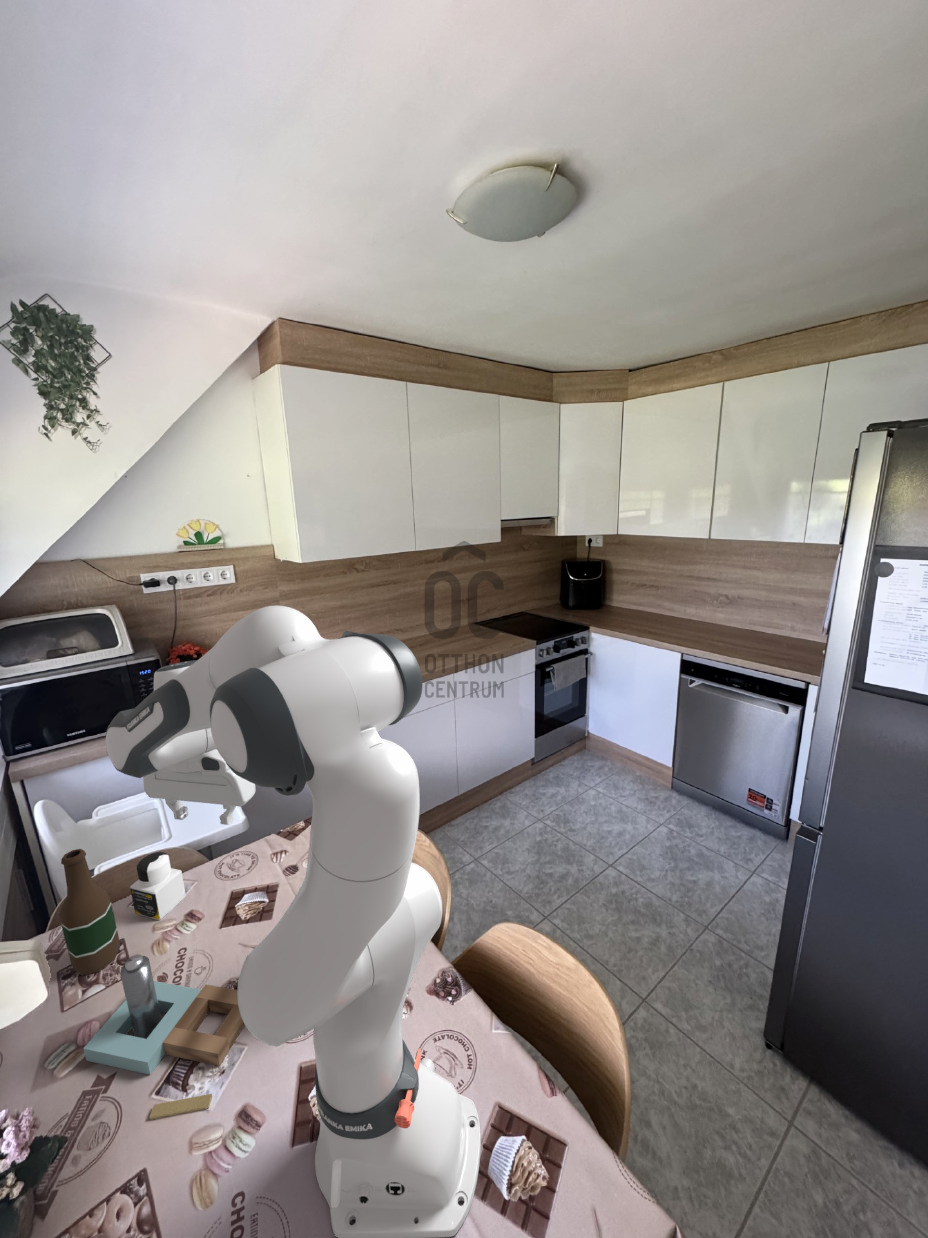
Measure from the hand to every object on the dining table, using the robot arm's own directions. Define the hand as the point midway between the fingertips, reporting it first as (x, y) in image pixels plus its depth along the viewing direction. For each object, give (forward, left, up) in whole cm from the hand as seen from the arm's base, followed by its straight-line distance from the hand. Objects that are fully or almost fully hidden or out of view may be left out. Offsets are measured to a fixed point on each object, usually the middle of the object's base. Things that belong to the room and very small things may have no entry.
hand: (204, 820), depth 89 cm
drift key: (-9, +23, -32) cm, 40 cm away
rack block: (+5, +14, -31) cm, 34 cm away
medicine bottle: (+24, -10, -31) cm, 41 cm away
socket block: (-6, +12, -31) cm, 34 cm away
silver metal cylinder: (+5, +14, -31) cm, 34 cm away
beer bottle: (+26, +4, -31) cm, 41 cm away
